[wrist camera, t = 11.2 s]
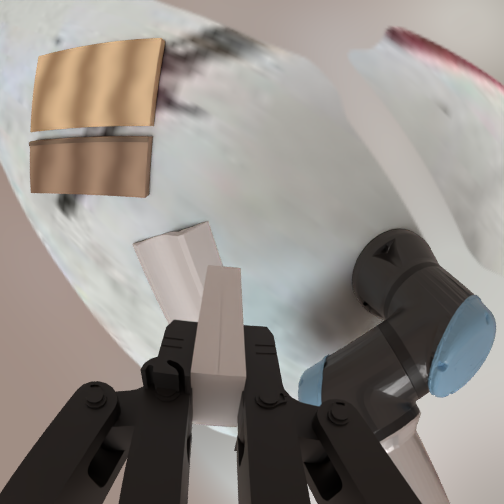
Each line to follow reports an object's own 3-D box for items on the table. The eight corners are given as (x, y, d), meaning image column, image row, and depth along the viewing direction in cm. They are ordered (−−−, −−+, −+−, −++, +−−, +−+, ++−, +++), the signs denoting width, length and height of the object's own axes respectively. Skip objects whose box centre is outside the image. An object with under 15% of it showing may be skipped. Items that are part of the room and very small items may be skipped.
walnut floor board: (152, 136, 34) (147, 137, 32) (149, 194, 37) (144, 198, 35) (37, 140, 32) (29, 141, 30) (37, 189, 35) (29, 193, 33)
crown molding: (135, 241, 41) (127, 250, 37) (210, 218, 40) (208, 227, 37) (203, 382, 53) (202, 396, 50) (262, 371, 53) (263, 385, 49)
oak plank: (165, 41, 29) (161, 38, 27) (153, 125, 34) (149, 126, 32) (45, 57, 27) (38, 56, 25) (37, 130, 32) (30, 132, 30)
